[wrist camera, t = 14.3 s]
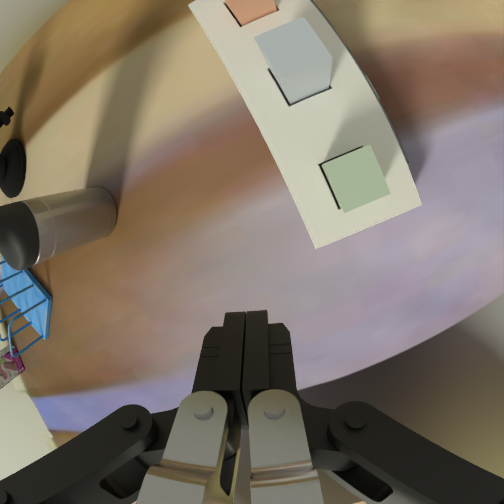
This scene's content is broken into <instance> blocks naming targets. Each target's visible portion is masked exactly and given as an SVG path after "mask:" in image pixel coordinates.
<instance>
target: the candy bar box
mask: <svg viewBox="0 0 504 504" xmlns="http://www.w3.org/2000/svg"><path fill="white" fill-rule="evenodd" d="M12 351H13V355H16V354H17V353H18V352H17V349H16V347H15V346H13V345H12ZM24 370H25V368H24V366H23V363H22V361H21V359H20V356H17V357H13V356H12V355H11V352H10V345H8V346H6V347H5V348H4V349H2V350H1V351H0V389H1V388H3V387H4V386H5V385H6V384H7V383H9V382H10V381H11V380H13V379H14V378H15V377H16V376H18V375H19V374H20V373H22V372H23V371H24Z"/></svg>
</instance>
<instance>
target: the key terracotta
mask: <svg viewBox="0 0 504 504" xmlns="http://www.w3.org/2000/svg"><path fill="white" fill-rule="evenodd" d="M224 1H225V3H226V4H227V6H228V7H229V9H230V10H231V12H232V13H233V15H234V16H235V18H236V19H237V21H238V22H239V24H240V25H241V27H242V26H244V25H246V24H249V23H251V22H253V21H255V20H257V19H260V18H262V17H264V16H267V15H269V14H271V13H274V12H276V11H277V9H276V5H275V2H274V0H224Z"/></svg>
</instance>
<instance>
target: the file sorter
mask: <svg viewBox="0 0 504 504" xmlns="http://www.w3.org/2000/svg"><path fill="white" fill-rule="evenodd" d="M0 265H1V280H0V283H1V285H0V287H3V288H4V290H5V291H6V292H7V294H8V295H9V297H7V298H5V299H3V300H2V301H0V305H1V304H2V303H4V302H5V301H7V300H9V299H12V301H13V302H14V304H15V305H16V306H17V307H18V309H19V310H17V311H15V312H14V313H12V314H10V315H9V316H7V317H5V318H4V319H2V320H0V323H2V322H3V321H5V320H6V319H8V318H10V317H11V316H13V315H14V314H16V313H18V312H19V311H21V314H19V315H17V316H16V317H14V318H13V319H12V320H11V321H10V323H9V325H8V337H6V338H5V339H1V336H0V340H1V341H6V340H8V339H9V345H10V352H11V355H12V356H13V357H17V356H19V355H20V354H22V353H23V352H24V351H25V350H27V349H28V348H29V347H31V346H32V345H33V344H35V343H36V342H37V341H39V340H40V339H41V338H43V339H44V340H45V339H47V338H48V334H49V322H50V313H51V305H52V297H51V296H50V295H49V293H48V292H47V291H46V290H45V289H44V288H43V287H42V285H41V284H40V283H39V282H38V281H37V280H36V278H35V277H34V276H33V275H32V274H31V272H30V271H29V270H28V269H24V270H20V271H18V270H14V269H13V268H11V267H10V266H9V265H8V264H7V262H6V261H5V259H4V258H3V256H2V259H1V262H0ZM23 315H24V316H25V318H26V319H27V320H28V321H29V323H28V324H26V325H25V326H23V327H22V328H20V329H19V330H17V331H16V332H14V333H13V334H10V327H11V325H12V323H13V322H14V321H15V320H16V319H18V318H20V317H21V316H23ZM30 324H31V325H32V326H33V327H34V328H35V330H36V331H37V332H38V333H39V334H40V335H41V336H40V337H39V338H38V339H36V340H35V341H34V342H32V343H31V344H30V345H28V346H27V347H26V348H24V349H23V350H21V351H20V352H19V353H17V354H16V355H13V351H12V344H11V337H12V336H14V335H15V334H17V333H18V332H20V331H21V330H23V329H24V328H26V327H27V326H29V325H30Z"/></svg>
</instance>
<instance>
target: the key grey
mask: <svg viewBox="0 0 504 504" xmlns="http://www.w3.org/2000/svg"><path fill="white" fill-rule="evenodd" d="M254 39H255V41H256V43H257V45H258V47H259V49H260V51H261V52H262V54H263V56H264V58H265V60H266V62H267V64H268V66H269V68H270V70H271V72H272V74H273V75H274V77H275V79H276V80H277V82H278V84H279V85H280V87H281V89H282V91H283V92H284V94H285V96H286V98H287V100H288V101H289V103H290V105H293V104H295V103H297V102H300V101H302V100H304V99H307V98H309V97H311V96H314V95H316V94H319V93H321V92H324V91H326V90H329V84H330V76H331V67H332V56H331V54H330V53H329V51H328V50H327V48H326V47H325V45H324V44H323V43H322V41H321V40H320V38H319V37H318V35H317V34H316V33H315V31H314V30H313V28H312V27H311V26H310V24H309V23H308V22H307V20H306V19H305V18H304V17H302V18H299V19H296V20H294V21H291V22H289V23H286V24H284V25H281V26H279V27H276V28H274V29H271V30H269V31H267V32H265V33H262V34H260V35H258V36H256V37H254Z"/></svg>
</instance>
